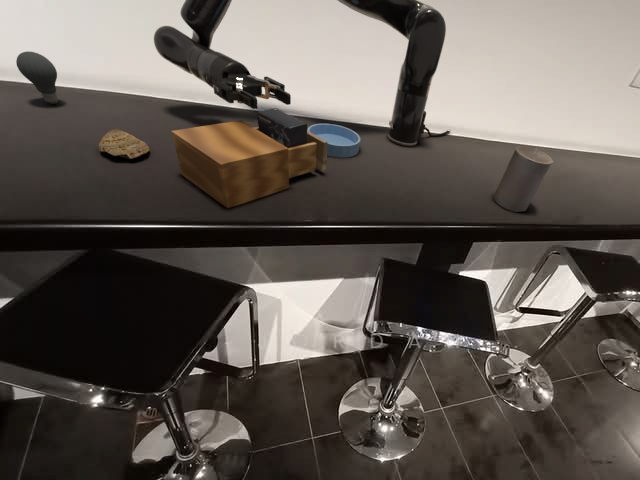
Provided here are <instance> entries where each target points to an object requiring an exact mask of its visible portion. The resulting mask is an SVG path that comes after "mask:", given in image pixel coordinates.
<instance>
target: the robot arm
mask: <svg viewBox="0 0 640 480" xmlns="http://www.w3.org/2000/svg"><path fill="white" fill-rule="evenodd" d="M232 1H233V0H184V2H183V4H182V6H181V9H180V13H179V14H180V17H181V19H182V20H183V22H184V23H185V24H186V25H187V26H188V27H189V28H190V29H191V30H192V36H191V37H190V36H188V35H186V34H185V33H184V32H183V31H180V30H179V29H177V28H176V27H174V26H170V25H163V26H160V27H158V28H156V30H155V31H154V34H153V44H154V47H155V49H156V51H157V53H158V54H159V55H160V57H161V58H163V59H164V60H166V61H168V62H169V63H171V64H173V65H174V66H175V67H178V68H179V69H181V70H182V71H184V72H186V73H188V74H190V75H193V76H194V77H195V78H197V79H198V80H200V81H202V82H203V83H206V84H207V85H208V86H209V87H211V88H212V89H213V94H215V95H216V96H217V97H219V98H220V99H222V100H223V101H225V102H227V103H229V104H234V103H235V101H236V102H237V104H241V105H242V104H243V105H245V106H247V107H249V108H251V109H252V110H257V109H258V107H259V106H258V99H257V98H260V99H264V100H269V99H270V98H271V99H275V100H277V101H279V102H280V103H283V104H285V105H287V106H288V105H291V103H292V102H291V101H292V100H291V98H292V97H291V94H290V92H287V91H286V90H285V89H286V86H285V84H284V83H282V82H279V81H277V80H275V79H273V78H271V77H269V76H263V78H258V77H257V76H255V75H252V74H251V73H250V71H249V69H248V68H247V67H246V65H244V64H243V63H241V62H239V61H238V60H236V59H233V58H232V57H230V56H228V55H226V54H224V53H222V52H219V51H216V50H214V49H213V48H211V46H212V42H213V38H214V35H215V33H216V31H217V29H218V28H219V26H220V24H221V23H222V21H223V19H224V18H225V16H226V14H227V12H228V11H229V8H230V6H231V4H232ZM337 2H339V3H341V4H342V5H344V6H345V7H348V8H349V9H351V10H353V11H354V12H356V13H359V14H360V15H363V16H366V17H368V18H371V19H373V20H376V21H380V22H382V23H384V24H386V25H388V26H389V27H391V28H392V29H393V30H395V31H397V32H398V33H399V34H400V35H402V36H403V37H404V38H405V39H406V40H407V41H408V42H407V47H406V51H405V57H404V60H403V62H402V64H401V67H400V71H399V76H398V83H397V87H396V92H395V99H394V103H393V104H394V105H393V109H392V115H391V119H390V120H389V123H388V125H389V131H388V134H387V138H388V140H389V141H391V142H392V143H393V144H396V145H399V146H402V147H415V146H417V145H419V144H420V141H421V136H422V134H424V133H425V131H426V132H427V134H428V136H429V137H432V138H436V137H441V136H445V135H447V134H448V133H450V132H451V130H450V131H448V130H447V131H444V132H441V133H437V134H432V133H431V130H430V129H429V128H427V127H426V124H425V121H426V116H427V111H426V105H427V101H428V98H429V94H430V89H431V86H432V81H433V78H434V76H435V74H436V72H437V69H438V66H439V62H440V59H441V55H442V52H443V47H444V43H445V39H446V34H447V33H446V32H447V25H446V20H445V18H444V16H443V15H442V13H441V12H440V11H439V10H438V9H436V8H434V7H433V6H431V5H429V4H427V3H423V2H421V1H419V0H337ZM263 89H264V93H263Z"/></svg>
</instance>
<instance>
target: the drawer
mask: <svg viewBox="0 0 640 480" xmlns="http://www.w3.org/2000/svg"><path fill="white" fill-rule="evenodd" d="M252 127H253V128H255V129H257V130H258V131H259V126H255V127H254V126H252ZM327 145H328V142H327V141H325V140H324V139H322V138H320V137H318V136H316V135H315V134H313V133H311V132H309V131H307V144H304V145H300V146H296V147H292V148H288V153H289V179H293V178H294V177H298V176H301V175H302V176H303V175H304V174H308V173H311V172H314V171H316V169H317V170H319V171H320V172H326V171H327V160H328V156H327Z"/></svg>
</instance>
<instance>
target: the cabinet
mask: <svg viewBox="0 0 640 480" xmlns="http://www.w3.org/2000/svg"><path fill="white" fill-rule="evenodd" d="M253 127H254V126H251V124H248V123H247V122H245V121H243V120H234V121H228V122H221V123H215V124H209V125H202V126H195V127H189V128H188V127H187V128H181V129H175V130H170V133H171V135H172V139H173V144H174V148H175V152H176V156H177V160H178V164H179V168H180V173H181V176H183V177H184V178H185V179H186V180H188V181H189V182H190V183H192V184H193V185H194V186H196V187H197V188H199V189H200V190H202V191H203V192H204V193H206V194H207V195H208V196H210V197H211V198H213V199H214V200H216V202H218V203H219V204H221V205H222V206H224V207H225V208H227V209H230V208H233V207H236V206H240V205H242V204H246V203H248V202H252V201H255V200H257V199H260V198H263V197H267V196H269V195H272V194H276V193H279V192H282V191H284V190H288V189H290V178H289V153H288V148H287V147H285V146H284V145H282V144H280V143H278V142H277V141H275V140H273V139H272V138H270V137H268V136H267V135H265V134H263V133H262V132H260V131H258V130H257V129H255V128H253Z"/></svg>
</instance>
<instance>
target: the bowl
mask: <svg viewBox="0 0 640 480" xmlns="http://www.w3.org/2000/svg"><path fill="white" fill-rule="evenodd" d="M307 131H309V132H311V133H313V134H315V135H316V136H318V137H320V138H322V139H324V140H325V141H327V142H328V145H327V157H332V158H338V159H339V158H341V159H342V158H343V159H347V158H352V157H354V156H356V155H358V154H359V151H360V147H361V141H362V140H361V136H360V135H359V134H358V133H357V132H356V131H354V130H352V129H351V128H348V127H345V126H343V125H338V124H332V123H314V124H312V125H310V126H308V127H307Z"/></svg>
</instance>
